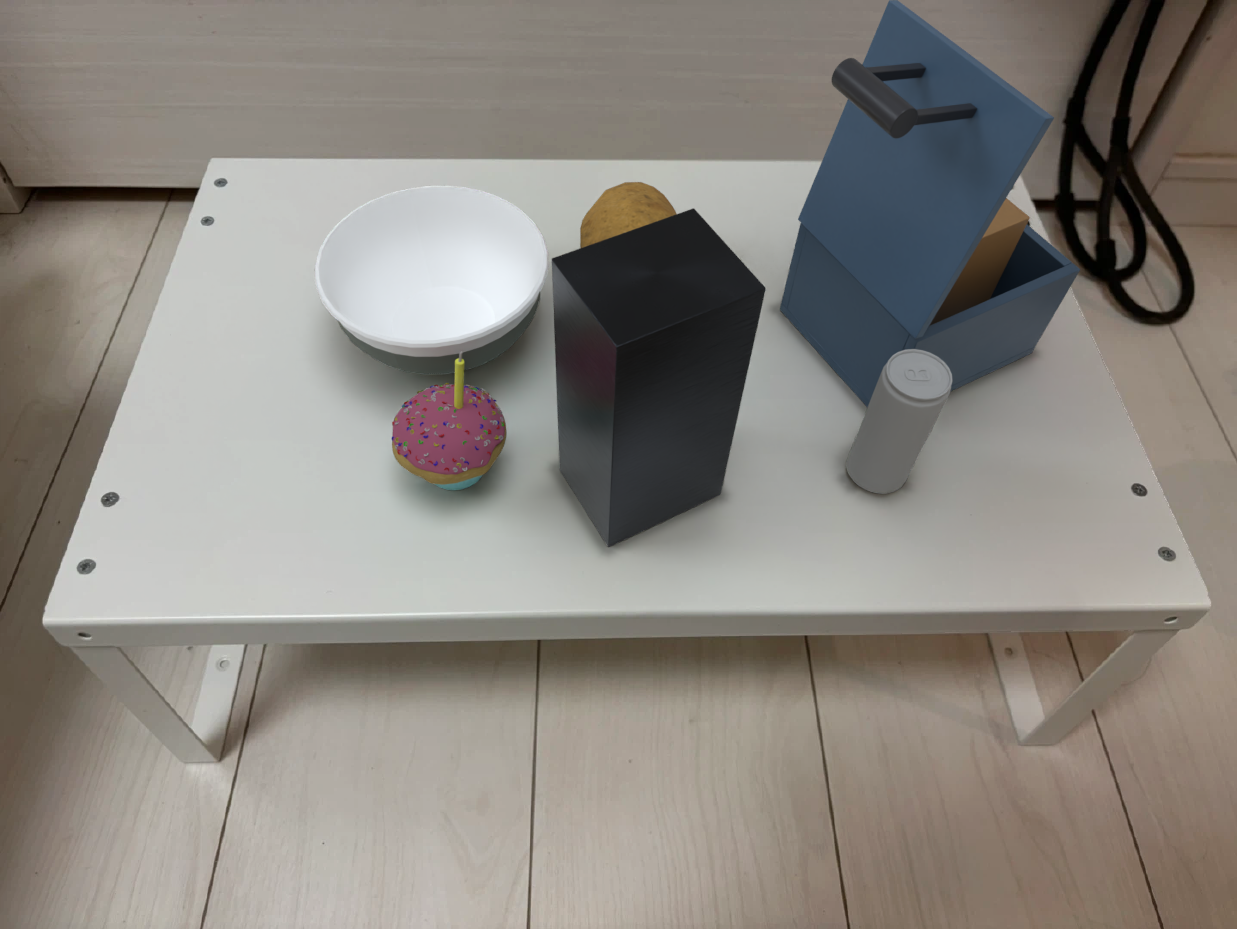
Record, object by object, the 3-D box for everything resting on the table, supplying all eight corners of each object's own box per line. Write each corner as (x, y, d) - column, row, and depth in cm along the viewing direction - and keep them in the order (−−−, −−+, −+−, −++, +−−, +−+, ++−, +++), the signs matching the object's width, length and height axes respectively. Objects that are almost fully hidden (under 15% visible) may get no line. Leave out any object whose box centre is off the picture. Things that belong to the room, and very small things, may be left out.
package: (977, 324, 82) (1030, 217, 72) (907, 356, 80) (953, 250, 70) (932, 282, 85) (977, 173, 75) (864, 312, 83) (901, 203, 73)
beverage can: (910, 498, 72) (961, 401, 63) (848, 497, 72) (890, 399, 62) (900, 448, 75) (947, 348, 65) (840, 447, 75) (879, 346, 65)
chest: (922, 250, 89) (956, 164, 81) (1031, 353, 82) (1081, 269, 74) (779, 309, 84) (800, 223, 76) (882, 424, 77) (917, 342, 68)
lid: (897, -1, 63) (804, 3, 59) (1055, 117, 55) (960, 130, 51) (804, 218, 76) (723, 232, 72) (922, 336, 68) (839, 360, 64)
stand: (721, 495, 72) (766, 287, 54) (608, 547, 69) (616, 347, 51) (668, 422, 76) (693, 207, 58) (559, 469, 73) (551, 258, 55)
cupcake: (467, 407, 76) (450, 302, 66) (533, 471, 73) (525, 370, 63) (379, 463, 73) (347, 361, 63) (444, 533, 69) (421, 437, 59)
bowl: (355, 436, 74) (333, 368, 67) (320, 279, 84) (297, 206, 77) (578, 383, 78) (578, 313, 71) (519, 239, 88) (514, 166, 81)
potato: (572, 259, 73) (691, 251, 73) (574, 160, 82) (680, 153, 81) (584, 345, 81) (691, 338, 80) (584, 247, 89) (682, 240, 89)
